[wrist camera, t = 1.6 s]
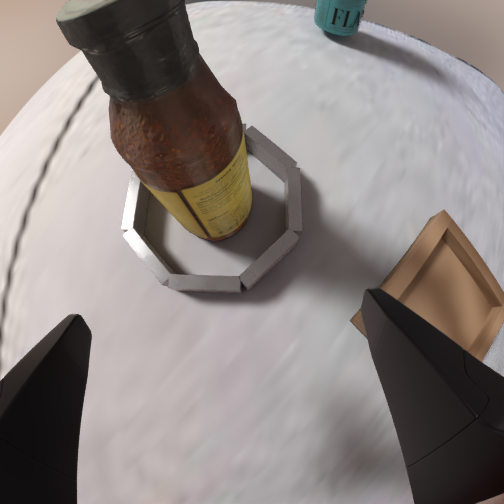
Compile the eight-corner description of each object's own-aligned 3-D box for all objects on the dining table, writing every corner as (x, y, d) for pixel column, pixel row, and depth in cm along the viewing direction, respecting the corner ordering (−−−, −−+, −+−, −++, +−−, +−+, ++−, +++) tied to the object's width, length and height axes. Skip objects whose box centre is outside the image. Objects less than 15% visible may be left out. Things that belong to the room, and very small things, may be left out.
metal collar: (207, 328, 22) (201, 330, 19) (110, 210, 24) (98, 200, 21) (330, 211, 23) (337, 199, 21) (221, 117, 26) (218, 100, 23)
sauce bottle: (253, 176, 24) (249, -60, 5) (250, 245, 23) (232, -5, 4) (180, 175, 24) (85, -26, 5) (172, 243, 23) (-4, 68, 4)
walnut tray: (430, 408, 19) (445, 414, 17) (349, 320, 21) (360, 321, 19) (495, 306, 21) (510, 304, 19) (430, 218, 23) (444, 209, 21)
